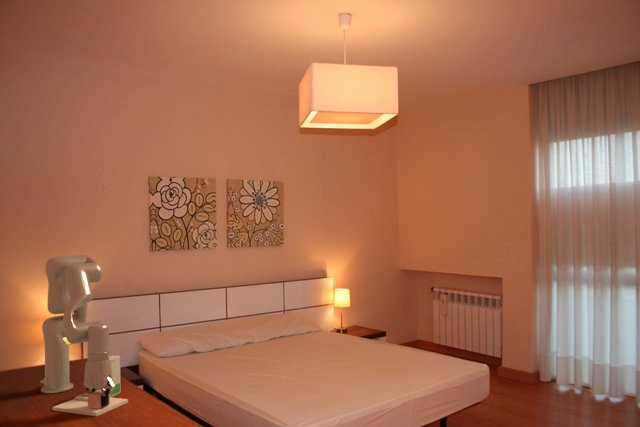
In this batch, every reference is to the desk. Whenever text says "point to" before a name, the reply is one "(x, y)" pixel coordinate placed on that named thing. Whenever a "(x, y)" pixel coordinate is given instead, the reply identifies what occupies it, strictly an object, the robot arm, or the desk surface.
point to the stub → (95, 399)
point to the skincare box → (115, 375)
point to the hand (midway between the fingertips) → (99, 404)
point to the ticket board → (81, 406)
